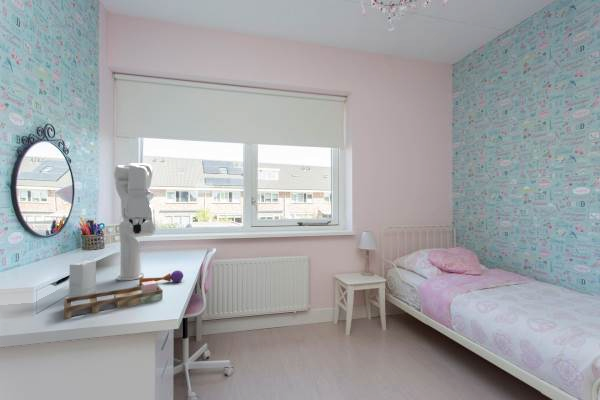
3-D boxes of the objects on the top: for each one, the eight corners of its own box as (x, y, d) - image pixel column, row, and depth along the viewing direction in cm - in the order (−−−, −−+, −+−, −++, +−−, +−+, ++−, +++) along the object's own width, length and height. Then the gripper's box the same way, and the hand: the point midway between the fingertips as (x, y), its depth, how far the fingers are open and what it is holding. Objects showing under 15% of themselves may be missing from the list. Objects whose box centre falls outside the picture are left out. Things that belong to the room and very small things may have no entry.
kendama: (141, 275, 141) (183, 269, 148) (141, 287, 140) (184, 280, 147) (138, 276, 136) (182, 269, 142) (138, 288, 135) (182, 281, 141)
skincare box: (83, 292, 126) (84, 259, 126) (96, 292, 125) (97, 259, 126) (67, 298, 117) (68, 263, 117) (81, 298, 117) (82, 264, 117)
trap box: (63, 319, 97) (63, 307, 97) (64, 309, 106) (64, 298, 106) (162, 299, 117) (162, 289, 117) (155, 292, 126) (155, 283, 126)
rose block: (141, 291, 119) (141, 282, 119) (154, 289, 122) (154, 280, 122) (143, 294, 115) (143, 285, 115) (156, 292, 119) (156, 283, 119)
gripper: (153, 194, 134) (153, 231, 134) (117, 193, 124) (116, 233, 124) (157, 193, 128) (156, 233, 128) (119, 192, 119) (118, 235, 118)
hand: (137, 233), depth 126 cm, fingers closed
